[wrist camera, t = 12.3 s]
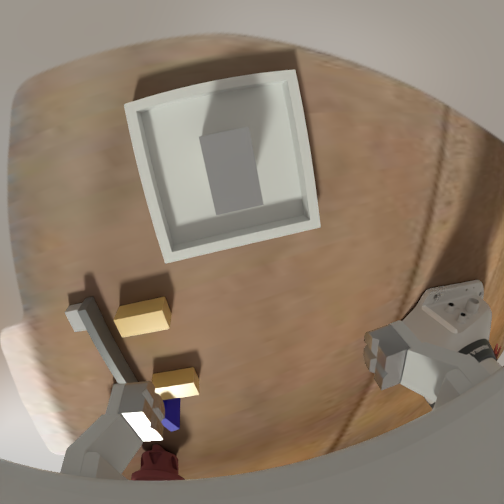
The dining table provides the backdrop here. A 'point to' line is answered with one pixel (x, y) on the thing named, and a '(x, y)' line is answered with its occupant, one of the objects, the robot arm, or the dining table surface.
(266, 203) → the parts tray
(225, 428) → the dining table surface
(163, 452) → the mechanical component
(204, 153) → the grey rectangular box
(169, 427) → the cable clip
